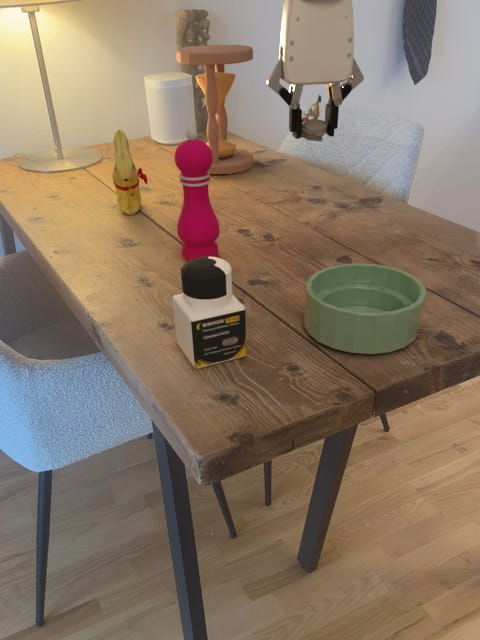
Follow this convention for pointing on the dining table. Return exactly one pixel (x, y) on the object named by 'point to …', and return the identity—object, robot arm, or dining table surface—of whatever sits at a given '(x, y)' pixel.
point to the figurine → (313, 124)
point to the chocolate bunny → (126, 176)
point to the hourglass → (219, 101)
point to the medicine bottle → (209, 313)
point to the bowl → (364, 308)
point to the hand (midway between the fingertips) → (312, 134)
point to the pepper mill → (196, 199)
